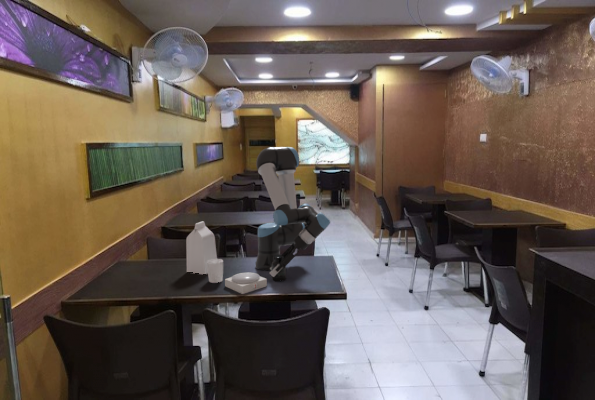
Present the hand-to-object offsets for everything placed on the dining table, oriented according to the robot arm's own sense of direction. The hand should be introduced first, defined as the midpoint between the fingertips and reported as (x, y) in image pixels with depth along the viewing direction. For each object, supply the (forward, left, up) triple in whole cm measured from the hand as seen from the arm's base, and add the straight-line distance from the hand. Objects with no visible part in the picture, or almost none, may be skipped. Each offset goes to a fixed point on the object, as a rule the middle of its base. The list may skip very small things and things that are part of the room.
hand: (271, 272), depth 200 cm
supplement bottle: (+2, +3, -4) cm, 5 cm away
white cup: (-19, -20, -4) cm, 28 cm away
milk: (-39, -16, -4) cm, 42 cm away
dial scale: (-2, -14, -4) cm, 15 cm away
